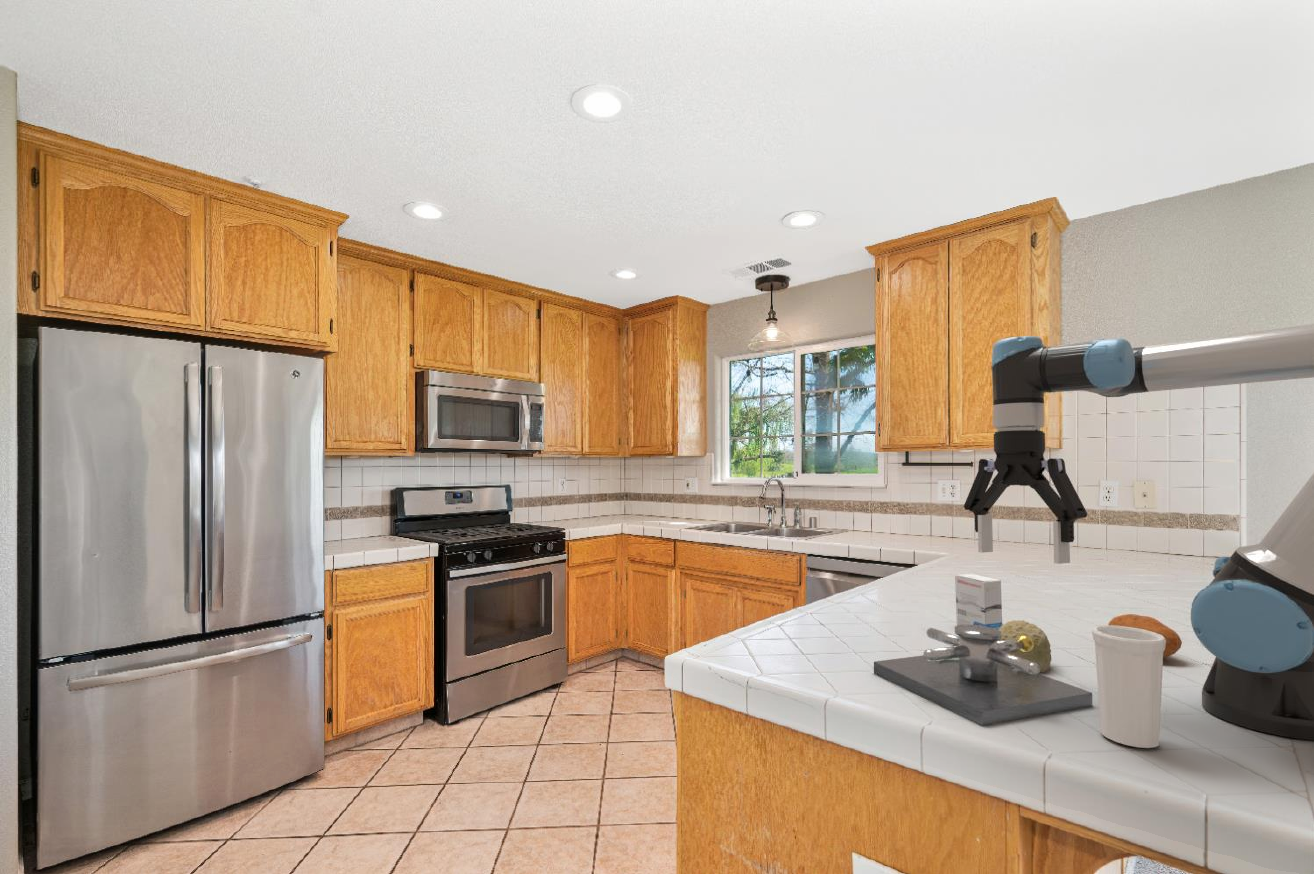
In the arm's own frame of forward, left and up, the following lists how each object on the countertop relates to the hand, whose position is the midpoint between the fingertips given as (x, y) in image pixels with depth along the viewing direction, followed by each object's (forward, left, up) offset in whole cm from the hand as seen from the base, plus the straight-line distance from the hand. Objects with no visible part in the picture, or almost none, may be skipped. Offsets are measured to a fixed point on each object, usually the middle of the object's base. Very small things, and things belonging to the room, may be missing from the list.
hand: (1021, 557), depth 106 cm
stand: (+1, +9, -21) cm, 23 cm away
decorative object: (+8, -9, -22) cm, 25 cm away
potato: (+4, -36, -21) cm, 42 cm away
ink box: (+28, -20, -21) cm, 41 cm away
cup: (-20, +5, -21) cm, 30 cm away
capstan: (+1, +8, -19) cm, 21 cm away
